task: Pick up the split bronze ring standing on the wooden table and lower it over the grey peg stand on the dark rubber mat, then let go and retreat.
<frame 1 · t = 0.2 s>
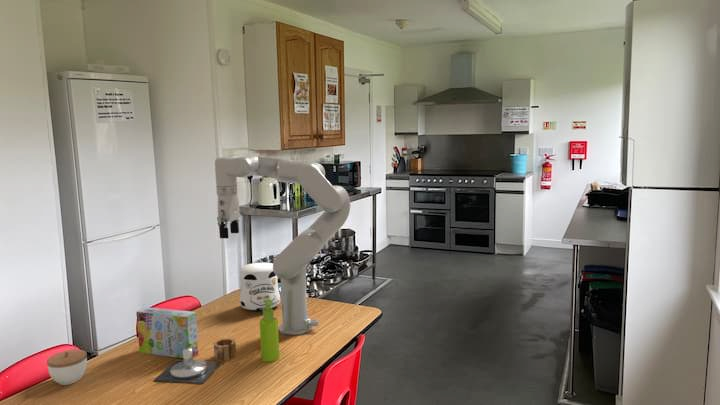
hand: (229, 235, 196), 36 cm above the table, tool pointing down, fingers open, 9 cm apart
lidded jar: (69, 381, 161), on the table
ring: (225, 356, 175), on the table
grey peg stand: (189, 372, 165), on the table
milk container: (260, 308, 224), on the table
snack box: (169, 353, 180), on the table
soap dispenser: (271, 359, 173), on the table
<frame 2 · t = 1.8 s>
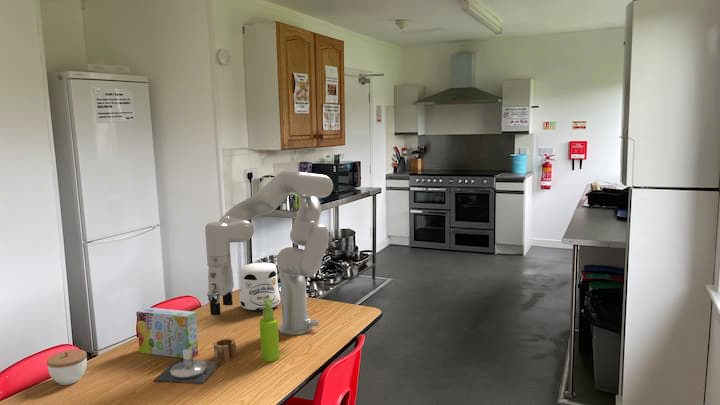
hand: (221, 309, 173), 16 cm above the table, tool pointing down, fingers open, 9 cm apart
nothing on the table moved.
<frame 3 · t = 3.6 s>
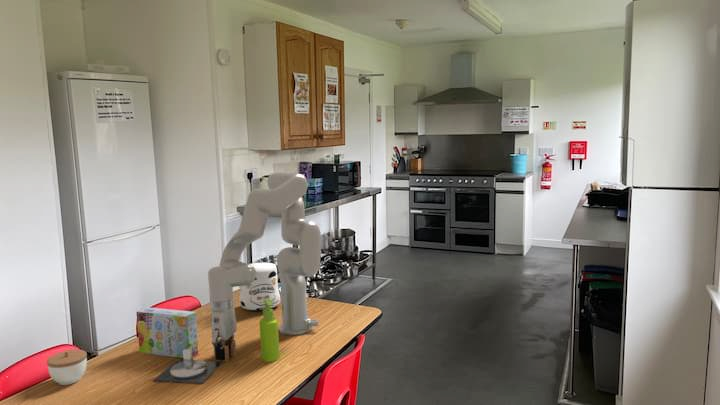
hand: (225, 354, 175), 1 cm above the table, tool pointing down, fingers closed on ring, 7 cm apart
ring: (225, 356, 175), on the table, touching gripper
everything else where it was.
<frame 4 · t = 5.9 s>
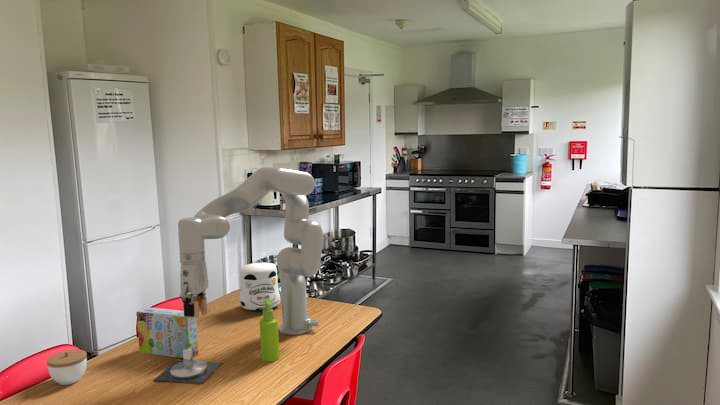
hand: (195, 311, 165), 19 cm above the table, tool pointing down, fingers closed on ring, 7 cm apart
ring: (195, 314, 165), point 18 cm above the table, touching gripper
everything else where it was.
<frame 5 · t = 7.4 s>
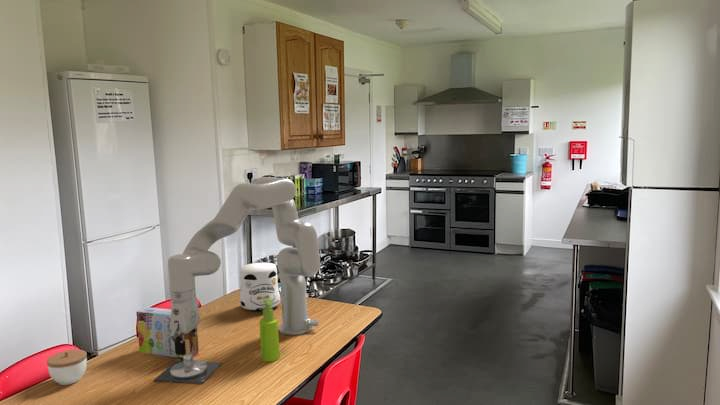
hand: (186, 348, 164), 8 cm above the table, tool pointing down, fingers closed on ring, 7 cm apart
ring: (186, 351, 164), point 7 cm above the table, touching gripper
everything else where it was.
when the fingers open (5 cm above the table, at t = 8.4 s): ring drops 3 cm, resting on grey peg stand.
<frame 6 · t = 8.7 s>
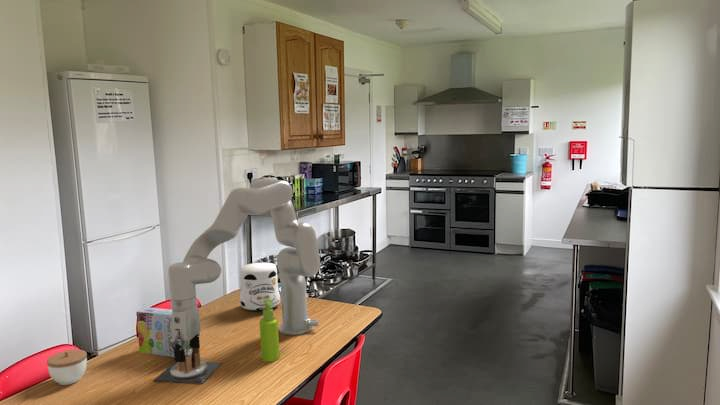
hand: (187, 354, 164), 6 cm above the table, tool pointing down, fingers open, 9 cm apart
ring: (188, 367, 165), point 2 cm above the table, touching grey peg stand
everything else where it was.
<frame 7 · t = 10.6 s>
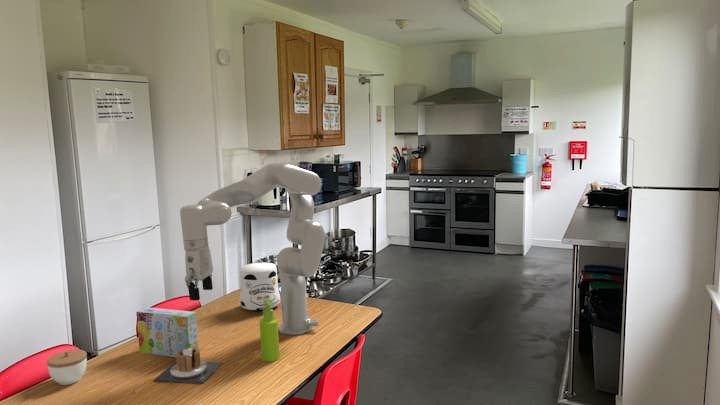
hand: (201, 294, 169), 23 cm above the table, tool pointing down, fingers open, 9 cm apart
nothing on the table moved.
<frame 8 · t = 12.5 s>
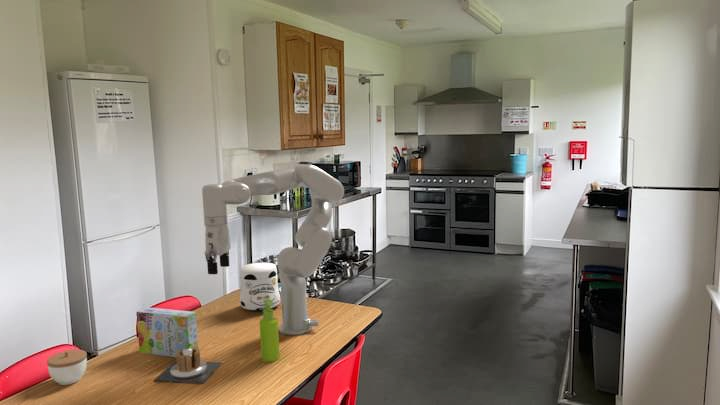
hand: (219, 270, 178), 28 cm above the table, tool pointing down, fingers open, 9 cm apart
nothing on the table moved.
at the end: ring 0.1 cm off-centre on the grey peg stand, point 1.6 cm above the grey peg stand's base; ring tilted 0°; the gripper is holding nothing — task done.
